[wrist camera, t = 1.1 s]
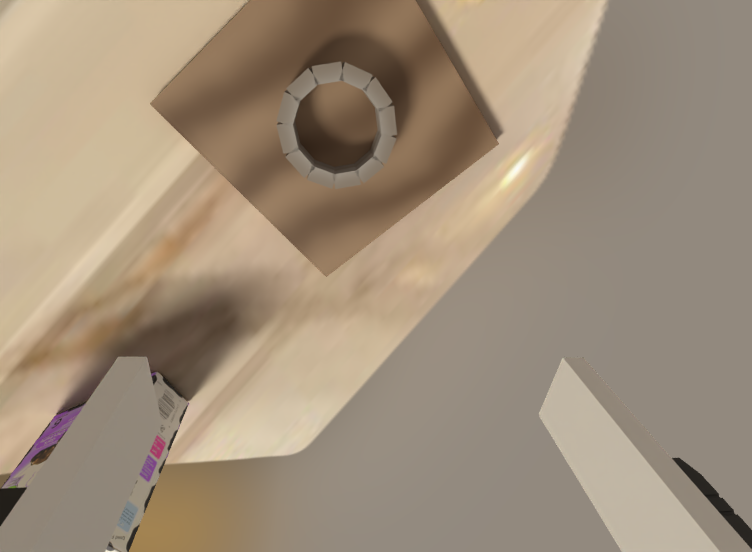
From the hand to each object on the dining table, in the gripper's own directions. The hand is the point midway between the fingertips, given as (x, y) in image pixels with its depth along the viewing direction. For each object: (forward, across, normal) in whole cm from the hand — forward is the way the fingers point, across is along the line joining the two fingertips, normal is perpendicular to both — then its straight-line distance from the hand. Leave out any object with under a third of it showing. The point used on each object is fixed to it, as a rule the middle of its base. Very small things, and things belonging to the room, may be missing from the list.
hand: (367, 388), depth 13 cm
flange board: (+26, 0, +5) cm, 26 cm away
